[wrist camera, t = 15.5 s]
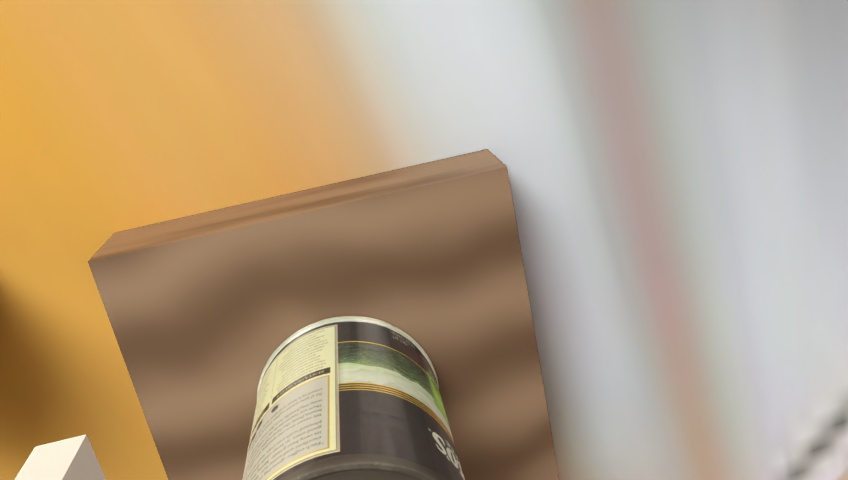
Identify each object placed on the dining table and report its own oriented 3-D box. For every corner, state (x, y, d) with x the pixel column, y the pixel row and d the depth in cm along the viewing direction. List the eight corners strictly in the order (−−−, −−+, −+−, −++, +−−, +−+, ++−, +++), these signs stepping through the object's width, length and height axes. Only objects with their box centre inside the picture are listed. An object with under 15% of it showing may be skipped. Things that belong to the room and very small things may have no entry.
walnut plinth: (114, 232, 42) (87, 261, 38) (487, 149, 44) (507, 166, 39) (222, 540, 50) (212, 597, 45) (541, 460, 51) (563, 507, 46)
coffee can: (429, 300, 41) (479, 444, 27) (446, 460, 44) (498, 659, 31) (239, 327, 40) (195, 490, 26) (271, 489, 43) (246, 706, 30)
